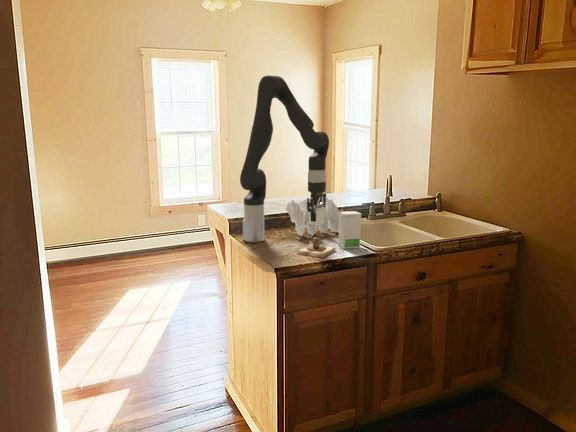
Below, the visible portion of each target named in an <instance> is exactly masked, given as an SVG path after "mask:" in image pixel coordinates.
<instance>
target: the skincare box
mask: <svg viewBox="0 0 576 432" xmlns="http://www.w3.org/2000/svg"><path fill="white" fill-rule="evenodd" d="M361 226H362V213H361V212H358V211H350V210H349V211H339V229H338V240H337V241H338V243H337V245H338V247H340V248H341V249H344V250H346V249H358V248H359V249H360V248H361V231H362V230H361V229H362V227H361Z"/></svg>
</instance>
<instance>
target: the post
mask: <svg viewBox="0 0 576 432" xmlns="http://www.w3.org/2000/svg"><path fill="white" fill-rule="evenodd" d="M320 240H321V239H320V237H313V238H312V243H309V244H306V245H305V246H303V247H301V248H298V249H297V250H296V253H297V255H304V256H310V257H317V258H322V259H323V258H325V257H327V256H328V255H330V254H331V253H333V252H335V249H336V247H334V246H329V245H321V244H320Z"/></svg>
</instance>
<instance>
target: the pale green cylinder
mask: <svg viewBox="0 0 576 432" xmlns="http://www.w3.org/2000/svg"><path fill="white" fill-rule="evenodd" d="M314 208H315V207H314ZM309 224H311V225H317V226H318V225H322V224H324V207H323V206H318V208H317V209H316V221H315V222H313V221H311V213H310V212H309Z"/></svg>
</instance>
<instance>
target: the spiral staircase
mask: <svg viewBox="0 0 576 432" xmlns="http://www.w3.org/2000/svg"><path fill="white" fill-rule="evenodd" d="M333 200H334V199H329V198H328V197H326V206H325V208H324V224H322V225H311V224H309V212H308V209H307V199H304V200H303V201H299V202H295V201H294V199H293V200H291V201H290V202H287V205H286V209H285V210H286V211H287V213H288V215H289V216H290V221H291V223H294V224H295V228H294V230H295V231H296V232H297V235H296V236H300V237H301V238H302V237H303V236H304V234H305V233H306V230H307V234H308V235H311V237H313V236H314V235H315V234H317V231H318V230H319V231H320V234H323V233H324V234H326V233H327V232H328V230H329V229H330V232H331V233H333V232H334V234H336V233H337V232H339V212H340V211H339V208H338V206H337V204H336V203H335V202H334V201H333ZM317 229H318V230H317Z"/></svg>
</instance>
